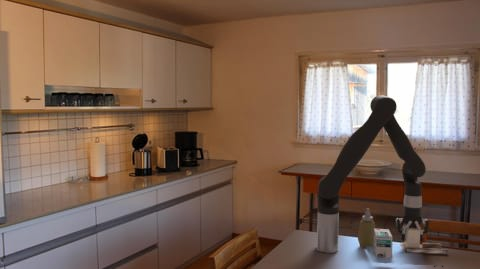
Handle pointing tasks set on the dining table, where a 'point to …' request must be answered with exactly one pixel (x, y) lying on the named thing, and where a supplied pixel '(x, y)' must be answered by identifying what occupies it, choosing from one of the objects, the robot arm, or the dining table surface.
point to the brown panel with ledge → (426, 249)
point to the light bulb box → (383, 243)
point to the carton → (412, 238)
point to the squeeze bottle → (366, 230)
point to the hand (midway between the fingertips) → (411, 241)
